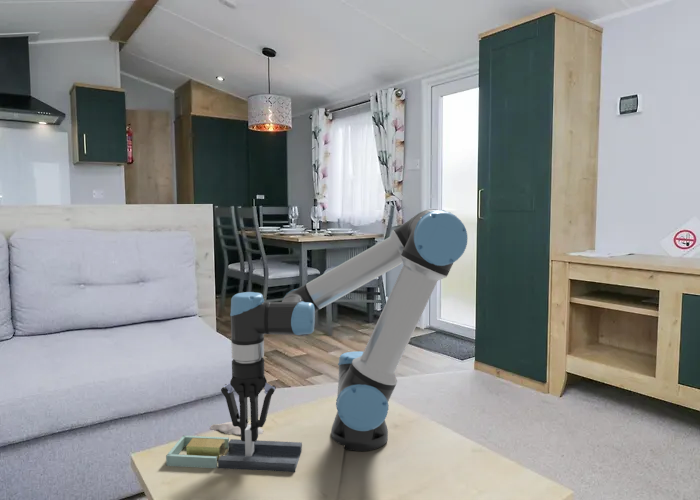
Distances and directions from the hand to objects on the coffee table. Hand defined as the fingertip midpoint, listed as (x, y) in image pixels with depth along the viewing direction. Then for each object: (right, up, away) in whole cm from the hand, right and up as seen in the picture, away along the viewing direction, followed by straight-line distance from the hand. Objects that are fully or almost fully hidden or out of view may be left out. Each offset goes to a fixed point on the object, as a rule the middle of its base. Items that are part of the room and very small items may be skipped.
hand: (249, 453), depth 121 cm
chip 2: (-9, -2, +1) cm, 9 cm away
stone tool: (-7, -1, +16) cm, 17 cm away
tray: (-13, -2, +1) cm, 13 cm away
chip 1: (-13, -2, +1) cm, 13 cm away
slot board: (+3, -2, 0) cm, 4 cm away
